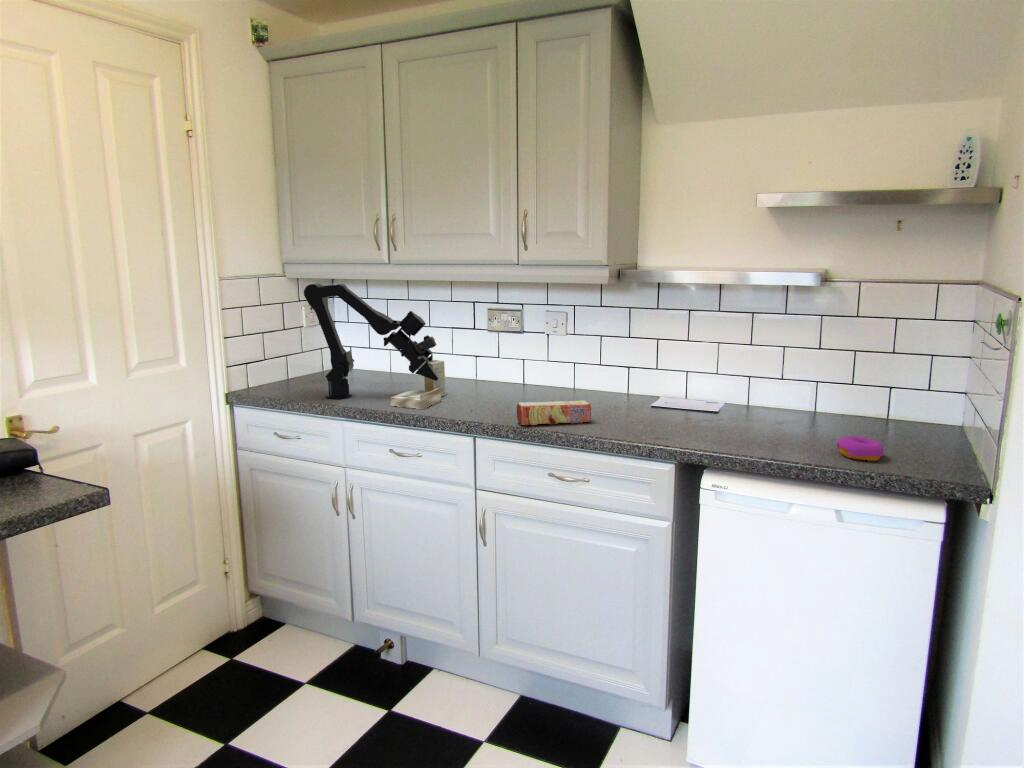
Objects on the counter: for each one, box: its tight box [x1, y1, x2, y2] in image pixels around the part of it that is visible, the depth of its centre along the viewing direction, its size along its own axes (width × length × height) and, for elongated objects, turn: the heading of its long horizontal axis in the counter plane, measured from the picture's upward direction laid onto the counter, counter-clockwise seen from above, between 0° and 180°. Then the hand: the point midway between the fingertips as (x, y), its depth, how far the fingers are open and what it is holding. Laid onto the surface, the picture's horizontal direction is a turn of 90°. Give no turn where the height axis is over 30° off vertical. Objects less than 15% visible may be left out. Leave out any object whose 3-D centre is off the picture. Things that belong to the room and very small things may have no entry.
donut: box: [836, 435, 885, 462], centre depth 170 cm, size 10×10×5 cm
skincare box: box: [423, 359, 447, 397], centre depth 238 cm, size 6×4×12 cm
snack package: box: [516, 400, 592, 426], centre depth 203 cm, size 21×7×7 cm, turn 100°
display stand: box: [389, 388, 442, 410], centre depth 228 cm, size 12×12×4 cm
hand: (438, 377), depth 238 cm, fingers closed on skincare box, 7 cm apart
